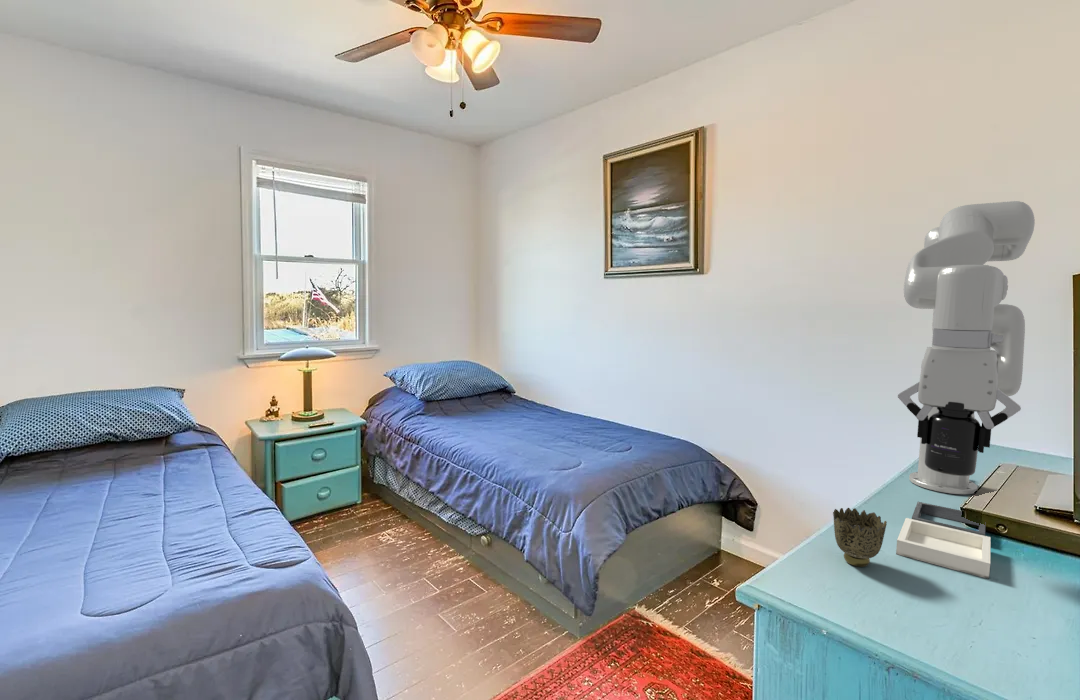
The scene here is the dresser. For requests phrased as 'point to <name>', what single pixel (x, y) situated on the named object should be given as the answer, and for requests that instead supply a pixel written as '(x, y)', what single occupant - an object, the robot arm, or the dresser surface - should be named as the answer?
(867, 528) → the olive rounded textured piece
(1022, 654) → the dresser surface
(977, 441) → the supplement bottle
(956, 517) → the frame
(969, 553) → the white square tray
